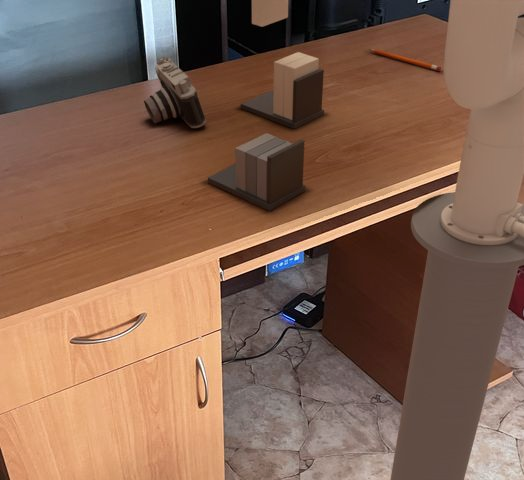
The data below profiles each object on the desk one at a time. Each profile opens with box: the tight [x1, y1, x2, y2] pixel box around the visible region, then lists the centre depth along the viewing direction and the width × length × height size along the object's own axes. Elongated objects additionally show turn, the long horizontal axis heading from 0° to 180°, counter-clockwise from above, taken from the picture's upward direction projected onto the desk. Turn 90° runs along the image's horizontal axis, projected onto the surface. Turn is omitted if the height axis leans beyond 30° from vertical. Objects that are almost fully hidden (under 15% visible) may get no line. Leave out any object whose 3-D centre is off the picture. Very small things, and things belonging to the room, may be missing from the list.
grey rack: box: [207, 132, 306, 212], centre depth 129 cm, size 14×9×9 cm, turn 48°
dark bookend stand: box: [240, 51, 325, 130], centre depth 152 cm, size 14×9×11 cm, turn 48°
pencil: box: [368, 48, 442, 72], centre depth 176 cm, size 1×19×1 cm, turn 50°
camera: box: [143, 56, 207, 129], centre depth 150 cm, size 16×9×10 cm, turn 25°
